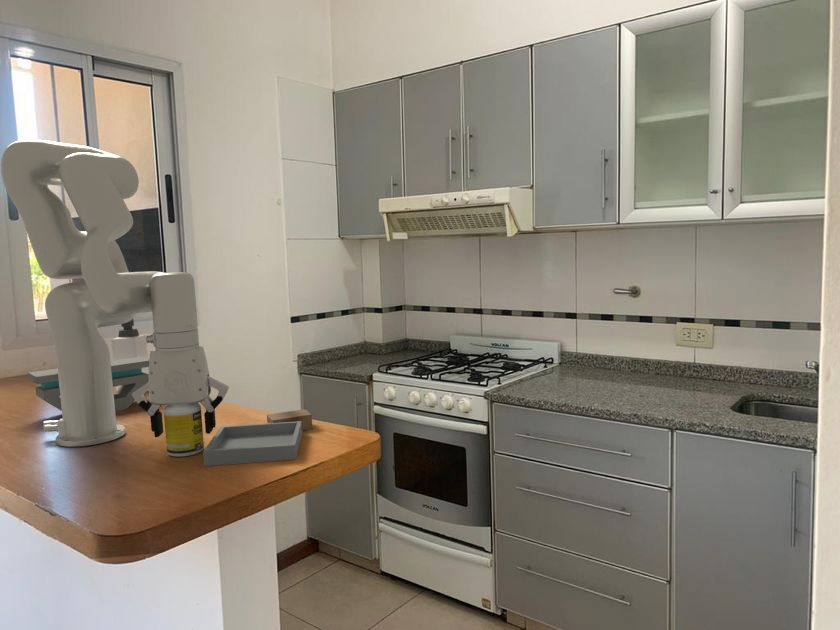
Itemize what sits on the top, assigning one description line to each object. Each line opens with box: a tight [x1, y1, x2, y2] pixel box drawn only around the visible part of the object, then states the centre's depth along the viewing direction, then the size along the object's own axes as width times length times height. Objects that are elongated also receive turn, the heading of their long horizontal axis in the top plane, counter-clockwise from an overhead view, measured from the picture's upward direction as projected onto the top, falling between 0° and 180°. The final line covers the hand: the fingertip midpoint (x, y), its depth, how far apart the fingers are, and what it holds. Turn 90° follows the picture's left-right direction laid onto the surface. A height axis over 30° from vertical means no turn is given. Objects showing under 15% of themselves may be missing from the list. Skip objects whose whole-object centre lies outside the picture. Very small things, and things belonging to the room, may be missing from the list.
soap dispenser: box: [110, 318, 149, 392], centre depth 174 cm, size 6×9×22 cm
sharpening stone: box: [27, 357, 149, 412], centre depth 153 cm, size 25×8×11 cm, turn 132°
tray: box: [202, 421, 303, 467], centre depth 120 cm, size 16×16×3 cm
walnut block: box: [266, 408, 313, 431], centre depth 132 cm, size 8×5×3 cm, turn 116°
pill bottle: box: [163, 402, 205, 458], centre depth 119 cm, size 6×6×12 cm
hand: (184, 433), depth 119 cm, fingers open, 8 cm apart
